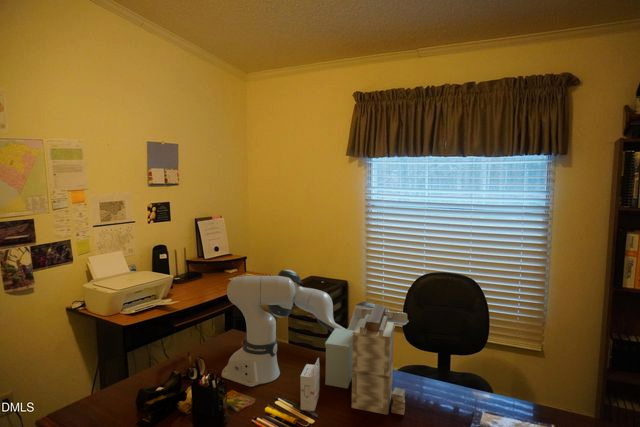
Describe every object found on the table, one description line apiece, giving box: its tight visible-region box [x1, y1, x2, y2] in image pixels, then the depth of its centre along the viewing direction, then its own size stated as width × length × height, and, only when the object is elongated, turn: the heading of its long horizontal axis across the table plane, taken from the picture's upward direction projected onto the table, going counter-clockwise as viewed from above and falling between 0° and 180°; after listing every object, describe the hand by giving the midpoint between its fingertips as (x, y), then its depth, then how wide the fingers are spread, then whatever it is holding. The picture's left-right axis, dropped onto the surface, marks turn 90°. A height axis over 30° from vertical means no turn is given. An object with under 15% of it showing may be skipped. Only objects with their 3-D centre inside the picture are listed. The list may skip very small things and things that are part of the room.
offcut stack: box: [391, 387, 406, 416], centre depth 120 cm, size 4×5×6 cm
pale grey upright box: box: [324, 328, 354, 389], centre depth 140 cm, size 9×15×16 cm, turn 163°
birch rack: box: [351, 314, 395, 416], centre depth 125 cm, size 12×13×28 cm
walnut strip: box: [367, 304, 387, 332], centre depth 129 cm, size 4×18×3 cm, turn 163°
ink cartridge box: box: [299, 357, 321, 412], centre depth 123 cm, size 9×5×15 cm, turn 168°
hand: (378, 312), depth 133 cm, fingers open, 5 cm apart
